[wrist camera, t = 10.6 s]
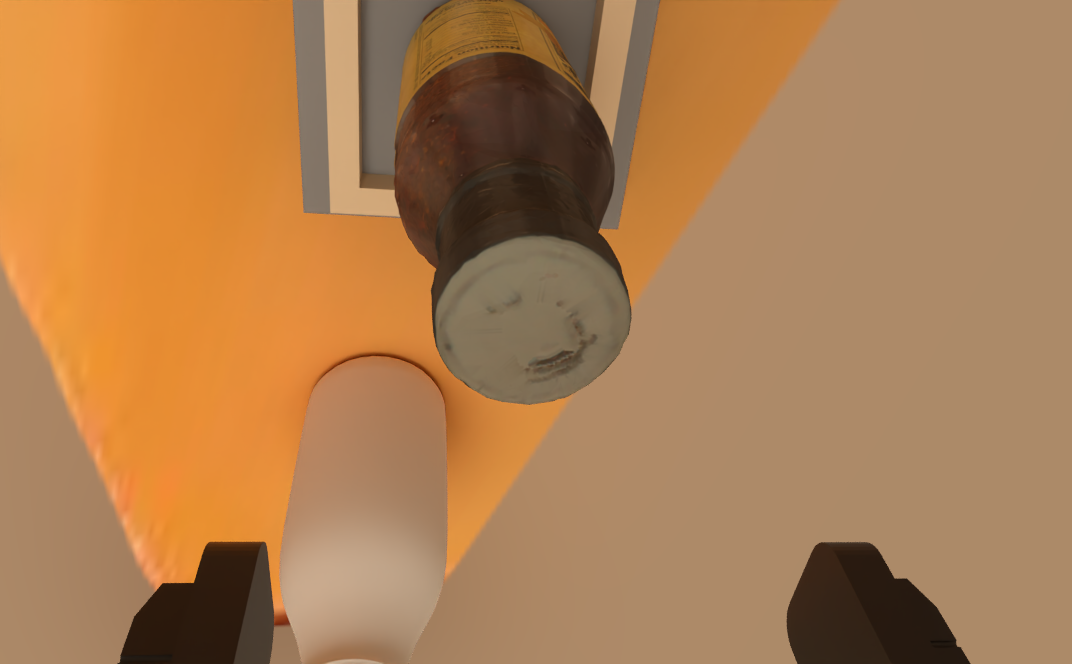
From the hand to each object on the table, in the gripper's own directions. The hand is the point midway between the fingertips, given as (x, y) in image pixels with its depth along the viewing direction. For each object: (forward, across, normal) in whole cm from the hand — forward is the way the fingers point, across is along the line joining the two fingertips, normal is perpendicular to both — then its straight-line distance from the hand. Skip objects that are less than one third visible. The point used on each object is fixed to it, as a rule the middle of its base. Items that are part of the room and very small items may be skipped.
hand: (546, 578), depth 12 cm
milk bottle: (+30, +4, +21) cm, 37 cm away
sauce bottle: (+26, 0, 0) cm, 26 cm away
